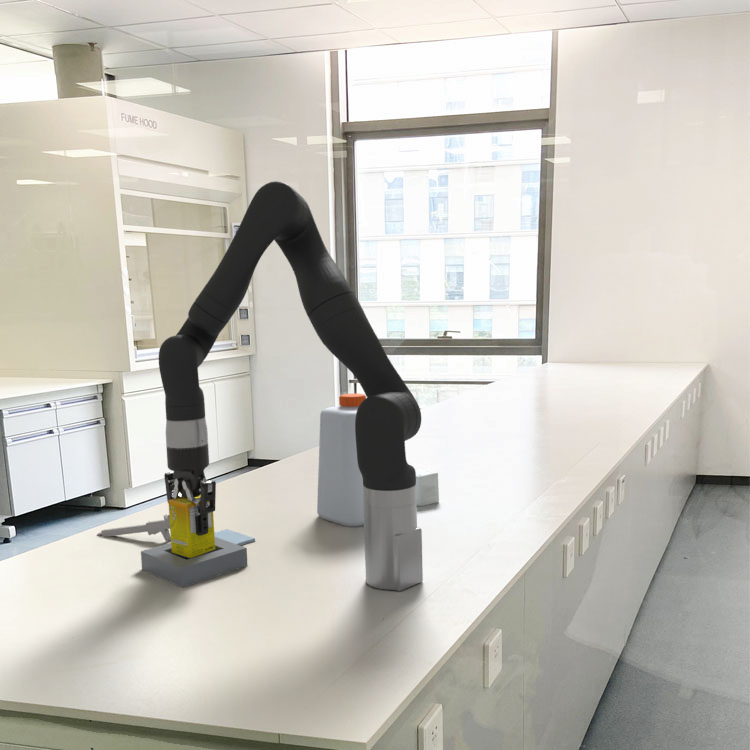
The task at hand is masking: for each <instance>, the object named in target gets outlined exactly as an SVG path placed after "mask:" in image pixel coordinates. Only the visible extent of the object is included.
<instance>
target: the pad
mask: <svg viewBox="0 0 750 750" xmlns="http://www.w3.org/2000/svg"><path fill="white" fill-rule="evenodd" d="M214 535H215V537H217V538H220V539H223V540H226V541H228V542H231V543H234V544H237V545H240V546H243V545H246V544H250V543H253V542H256V538H255V537H252V536H249V535H246V534H243V533H240V532H237V531H235V530H231V529H223V530H219V531H216V532H215V531H214Z"/></svg>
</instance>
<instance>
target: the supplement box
mask: <svg viewBox="0 0 750 750" xmlns="http://www.w3.org/2000/svg"><path fill="white" fill-rule="evenodd" d="M194 498H200V496H199V497H194ZM168 502H169V504H168V515H169V518H170V529H169V533H170V537H171V542H170V543H171V548H172V554H174V555H176V556H179V557H181V558H184V559H186V560H188V559H191V558H194V557H198V556H201V555H204V554H208V553H211V552H214V551H215V535H214V533H215V521H214V512H210V513H208V533H207V534H204V535H201V536H199V535H197V534H196V522H195V516H196V514H195V511H194V504H192V503H189V500H188V498H187V497H186V496H184V497H180V498H174V499H171V500H168V501H167V503H168ZM207 502H208V506H209V503H210V501H207ZM198 505H199V508H200V502H198Z"/></svg>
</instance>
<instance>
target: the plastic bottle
mask: <svg viewBox="0 0 750 750" xmlns="http://www.w3.org/2000/svg"><path fill="white" fill-rule="evenodd" d="M338 398H339V399H338V401H339V402H338V403H339V405H336V406H330V407H326V408H324V409H322V410H321V411H320V413H319V414H320V417H319V419H320V420H319V440H318V441H319V443H318V444H319V446H318V447H319V448H318V471H317V473H318V474H317V475H318V478H317V500H316V501H317V505H316V506H317V508H316V509H317V510H316V513H317V515H318V516H319V517H320V518H321V519H323V520H326V521H328V522H329V521H330V522H332V523H334V524H338V525H341V526H344V527H345V526H346V527H361V526H364V504H363V502H364V501H363V477H362V474H361V472H360V470H359V467H358V461H357V449H356V436H355V418H356V413H357V410H358V407H359V405H360V404H361V402H362V401H363V400H365V399H366V398H367V396H366V394H365V393H345V394H340V395H339V397H338Z"/></svg>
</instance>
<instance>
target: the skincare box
mask: <svg viewBox="0 0 750 750" xmlns="http://www.w3.org/2000/svg"><path fill="white" fill-rule="evenodd" d="M415 471H416V505H417V506H418V507H423V506H428V505H432V504H433V505H434V504H437V503H439V502H440V497H439V496H440V491H439V473H438V472H435V471H432V470H427V469H425V468H421V469H420V468H419V469H415Z"/></svg>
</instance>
